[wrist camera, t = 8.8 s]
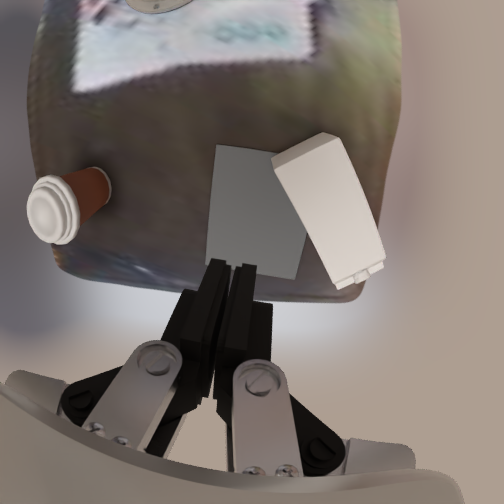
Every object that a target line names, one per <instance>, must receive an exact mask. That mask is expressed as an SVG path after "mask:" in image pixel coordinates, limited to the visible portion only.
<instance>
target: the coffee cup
mask: <svg viewBox="0 0 504 504" xmlns="http://www.w3.org/2000/svg"><path fill="white" fill-rule="evenodd" d="M111 191H112V187H111V181H110V179H109V177H108V175H107V173H106V172H104V171H103V170H102V169H101V168H98V167H95V166H94V167H90V168H87V169H83V170H80V171H76V172H73V173H69V174H66V175H63V176H60V177H58V176H55V175H52V174H51V175H48V176H44V177H42V178H40V179H39V180H38V181H37V182H36V184H35V185H34V186H33V189H32V193H31V194H30V195H29V198H28V202H27V216H28V219H29V222H30V225H31V227H32V229H33V231H34V232H35V234H36V235H37V236H38V237H39V238H40V239H41V240H43V241H45V242H47V243H55V244H67V243H68V242H69V241H71V240H72V239H73V238H74V237H76V234H77V232H78V230H79V227H80V226H81V225H82V224H83V223H84V222H85V221H86V220H87V219H88V218H90V217H91V216H92V215H93V214H94V213H95V212H96V211H98V210H99V209H100V208H101V207H102V206H103V205H105V204H106V203H107V202H108V201H109V199H110V197H111Z"/></svg>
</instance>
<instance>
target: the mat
mask: <svg viewBox="0 0 504 504" xmlns="http://www.w3.org/2000/svg"><path fill="white" fill-rule="evenodd" d="M277 154H279V153H275V152H269V151H263V150H257V149H250V148H243V147H236V146H228V145H220V144H217V145H216V153H215V162H214V171H213V180H212V190H211V201H210V211H209V223H208V235H207V249H206V263H205V265H209V262H210V260H211V258H215V259H221V260H226V264H227V265H231V269H233V270H235V268H236V266H240V267H242V263H246V264H252V265H257V271H256V273H257V274H263V275H269V276H275V277H281V278H287V279H293V280H295V276H296V273H297V269H298V265H299V262H300V258H301V254H302V250H303V246H304V243H305V239H306V235H307V230H306V229H305V227H304V225H303V223H302V221H301V219H300V217H299V215H298V213H297V212H296V210H295V208H294V206H293V204H292V202H291V201H290V199H289V197H288V195H287V193H286V191H285V190H284V188H283V186H282V184H281V182H280V181H279V179H278V177H277V175H276V174H275V172H274V169H273V165H272V161H271V158H272V157H274V156H276V155H277Z"/></svg>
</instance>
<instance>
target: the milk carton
mask: <svg viewBox="0 0 504 504" xmlns="http://www.w3.org/2000/svg"><path fill="white" fill-rule="evenodd" d="M271 161H272V165H273V169H274V172H275V174H276V175H277V177H278V179H279V181H280V182H281V184H282V186H283V188H284V190H285V191H286V193H287V195H288V197H289V199H290V201H291V202H292V204H293V206H294V208H295V210H296V212H297V213H298V215H299V217H300V219H301V221H302V223H303V225H304V227H305V229H306V230H307V232H308V234H309V236H310V238H311V240H312V242H313V244H314V246H315V248H316V250H317V252H318V254H319V256H320V258H321V260H322V262H323V264H324V266H325V268H326V270H327V272H328V274H329V276H330V278H331V280H332V282H333V284H335V285H336V287H337V289H338V290H339V289H341V288H343V287H345V286H347V285H350V284H352V283H354V282H355V283H356V284H357V283H360V282H362V281H364V280H366V279H368V278H370V277H371V276H370V274H372V273H374V272H376V271H378V270H380V269H382V268H384V266H383V262H382V261H383V260H384V259H385V258H386V254H385V251H384V248H383V245H382V242H381V239H380V236H379V233H378V230H377V227H376V224H375V221H374V218H373V216H372V213H371V210H370V207H369V205H368V202H367V200H366V197H365V195H364V192H363V189H362V187H361V185H360V182H359V180H358V177H357V175H356V173H355V170H354V168H353V166H352V163H351V161H350V159H349V157H348V155H347V152H346V150H345V148H344V146H343V144H342V142H341V140H340V138H339V137H336V136H333V135H330V134H327V133H324V132H322V133H319V134H317V135H315V136H313V137H311V138H309V139H307V140H305V141H303V142H301V143H299V144H297V145H295V146H293V147H291V148H289V149H287V150H285V151H283V152H281V153H279V154H277V155H276V156H274V157H272V158H271Z"/></svg>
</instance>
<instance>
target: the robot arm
mask: <svg viewBox="0 0 504 504" xmlns="http://www.w3.org/2000/svg"><path fill="white" fill-rule="evenodd" d="M125 1H126V2H127V4H128V5H129V6H130V7H132V8H133V9H135V10H137V11H139V12H143V13H150V14H154V13H162V12H167V11H170V10H173V9H176V8H179V7H181V6H183V5H185V4H187V3H188V2H190V1H191V0H125ZM256 271H257V265H252V264H246V263H242V267H240V266H236V268H235V272H234V276H233V280H232V284H231V288H230V292H229V284H230V275H231V265H227V264H226V260H221V259H215V258H211V260H210V262H209V265H208V267H207V270H206V272H205V275H204V277H203V279H202V282H201V284H200V287H199V289H198V291H194V290H189V289H184V290H183V292H182V294H181V296H180V298H179V300H178V303H177V305H176V307H175V309H174V311H173V314H172V315H171V318H170V320H169V322H168V325H167V327H166V329H165V331H164V333H163V336H162V338H161V340H153V341H148V342H145V343H143V344H141V345H139V346H138V347H137V348H136V349H135V350H134V352H133V353H132V355H131V356H130V357H129V359H128V360H127V361H126V363H125V364H124V365H123V366H120V367H117V368H115V369H112V370H109V371H106V372H104V373H101V374H98V375H95V376H92V377H89V378H86V379H83V380H80V381H77V382H74V383H73V384H66V382H65V381H63V380H59V379H54V378H50V377H46V376H42V375H38V374H35V373H31V372H27V371H24V370H17V371H14V372H12V373H11V374H10V375H9V376H8V378H7V380H6V382H5V384H3V383H1V382H0V504H465V503H464V499H463V496H462V493H461V490H460V488H459V486H458V484H457V483H456V481H455V480H454V479H453V478H451V477H450V476H448V475H446V474H443V473H441V472H437V471H432V470H425V469H415V464H416V460H415V454H414V453H413V451H412V449H410V448H409V447H408V446H406V445H403V444H394V443H385V442H375V441H368V440H361V439H355V438H350V439H349V440H346V439H341V438H340V437H339V436H338V435H337V434H336V433H335V432H334V431H332V430H331V429H330V428H329V427H327V426H326V425H325V424H324V423H322V421H320V420H319V419H318V418H317V417H316V416H314V415H313V414H312V413H311V412H310V411H309V410H308V409H306V408H305V407H304V406H303V405H302V404H301V403H300V402H298V401H297V400H296V399H295V398H294V397H293V396H292V395H291V394H290V393H289V390H288V385H287V379H286V377H285V374H284V372H283V371H282V370H281V369H280V368H279V367H278V366H277V365H275V364H274V363H272V362H271V343H272V316H273V304H271V303H264V302H258V301H253V295H254V287H255V279H256ZM228 293H229V296H228ZM214 370H215V373H214ZM213 374H214V389H213V399H217V410H216V412H217V413H218V415H219V416H220V417H221V418H222V419H223V420H224V421H225V423H226V424H225V433H226V434H225V436H226V468H227V469H226V472H225V471H219V470H213V469H207V468H202V467H197V466H192V465H188V464H183V463H179V462H175V461H171V460H167V457H168V455H169V453H170V451H171V449H172V446H173V445H174V442H175V440H176V438H177V436H178V434H179V432H180V429H181V427H182V425H183V423H184V421H185V418H186V416H187V413H188V412H190V411H192V410H194V409H196V408H197V405H198V404H199V405H201V401H202V397H206V398H208V396H209V392H210V388H211V383H212V378H213Z"/></svg>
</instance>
